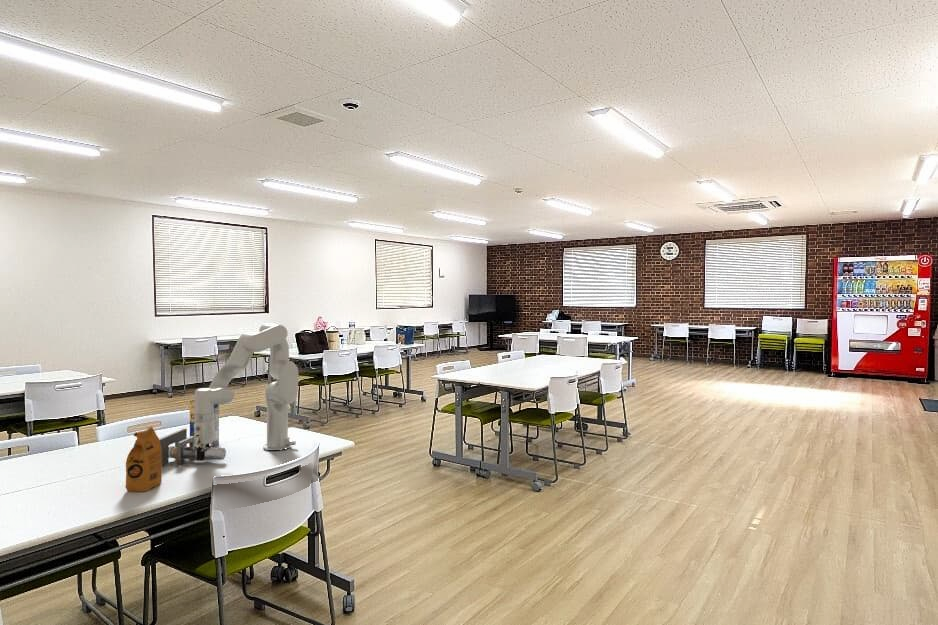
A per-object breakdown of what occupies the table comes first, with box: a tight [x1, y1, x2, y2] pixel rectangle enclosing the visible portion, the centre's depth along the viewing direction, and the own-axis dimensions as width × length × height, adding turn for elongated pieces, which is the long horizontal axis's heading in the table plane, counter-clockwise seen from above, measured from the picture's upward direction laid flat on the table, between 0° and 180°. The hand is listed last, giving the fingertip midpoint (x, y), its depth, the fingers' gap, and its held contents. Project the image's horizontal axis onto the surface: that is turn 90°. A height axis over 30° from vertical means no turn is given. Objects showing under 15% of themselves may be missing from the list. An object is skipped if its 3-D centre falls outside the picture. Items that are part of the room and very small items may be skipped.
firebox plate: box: [158, 427, 188, 468], centre depth 244 cm, size 2×20×12 cm, turn 177°
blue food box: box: [189, 399, 220, 448], centre depth 270 cm, size 7×11×22 cm, turn 86°
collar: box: [176, 436, 194, 466], centre depth 244 cm, size 2×11×10 cm, turn 177°
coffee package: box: [125, 426, 163, 493], centre depth 212 cm, size 10×12×22 cm
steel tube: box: [169, 445, 227, 461], centre depth 244 cm, size 24×5×5 cm, turn 87°
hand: (204, 458), depth 244 cm, fingers closed on steel tube, 5 cm apart
